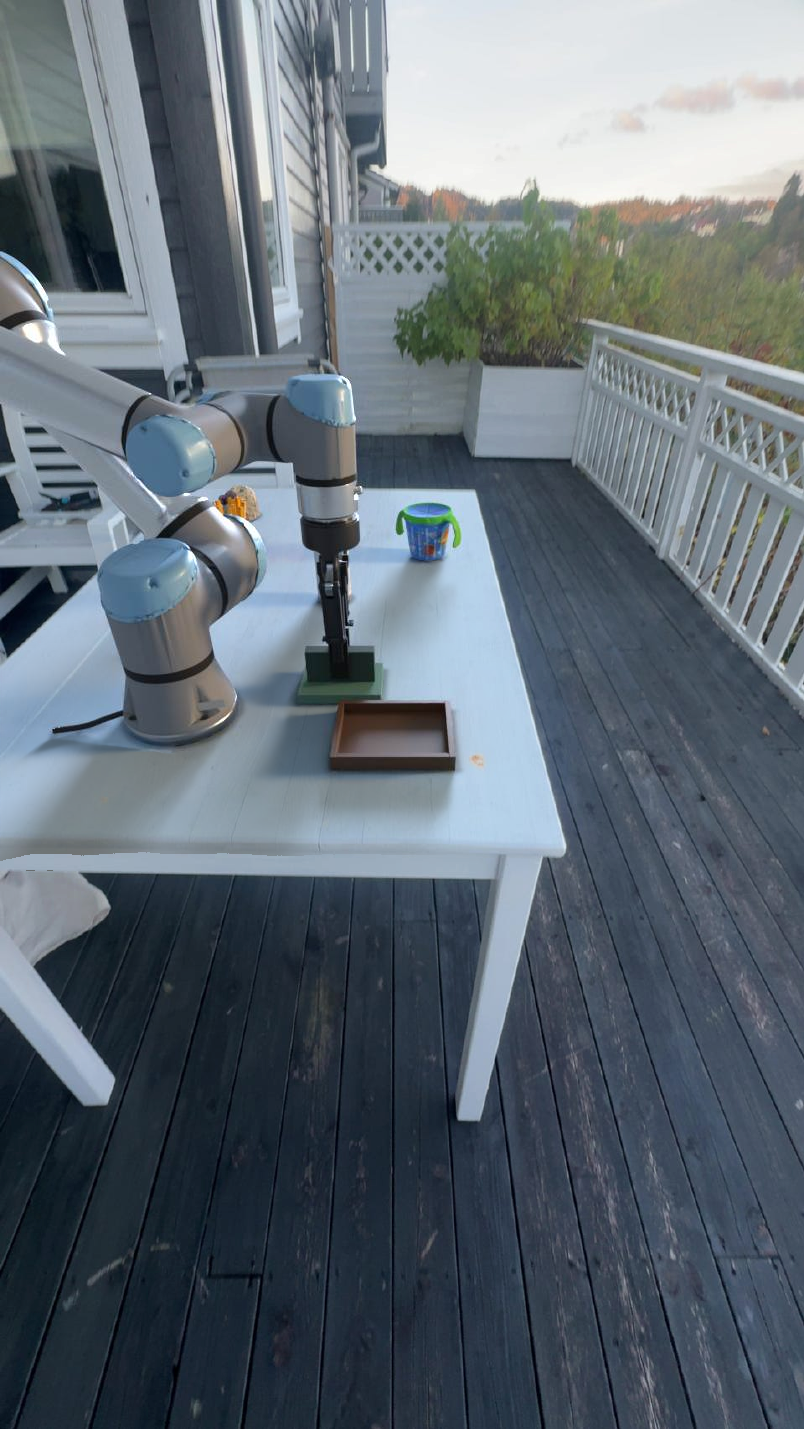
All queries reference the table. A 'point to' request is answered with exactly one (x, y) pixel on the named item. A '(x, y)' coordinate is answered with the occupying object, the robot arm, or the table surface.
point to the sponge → (250, 500)
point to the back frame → (393, 735)
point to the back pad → (340, 690)
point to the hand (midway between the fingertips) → (341, 672)
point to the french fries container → (233, 507)
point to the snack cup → (428, 529)
